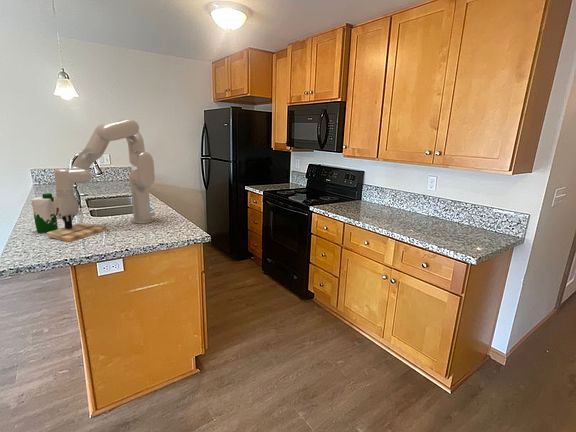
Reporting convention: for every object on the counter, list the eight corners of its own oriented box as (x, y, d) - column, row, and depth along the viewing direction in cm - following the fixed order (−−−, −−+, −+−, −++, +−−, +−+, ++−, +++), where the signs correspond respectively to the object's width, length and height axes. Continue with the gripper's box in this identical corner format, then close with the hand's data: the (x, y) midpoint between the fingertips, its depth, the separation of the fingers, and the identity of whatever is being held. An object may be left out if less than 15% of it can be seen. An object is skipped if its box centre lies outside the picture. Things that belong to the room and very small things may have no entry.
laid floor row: (97, 229, 176) (96, 225, 175) (106, 230, 174) (105, 226, 174) (60, 240, 155) (59, 236, 155) (69, 242, 154) (69, 238, 153)
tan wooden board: (81, 226, 177) (81, 222, 176) (94, 229, 175) (94, 225, 174) (46, 236, 158) (46, 232, 157) (61, 240, 156) (60, 236, 156)
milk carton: (55, 232, 167) (49, 195, 162) (34, 234, 164) (28, 195, 159) (60, 228, 175) (55, 192, 170) (40, 229, 172) (34, 192, 167)
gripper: (72, 191, 170) (75, 224, 174) (45, 194, 156) (49, 230, 160) (84, 192, 168) (86, 225, 172) (57, 196, 154) (61, 232, 158)
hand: (68, 228), depth 166 cm, fingers closed
